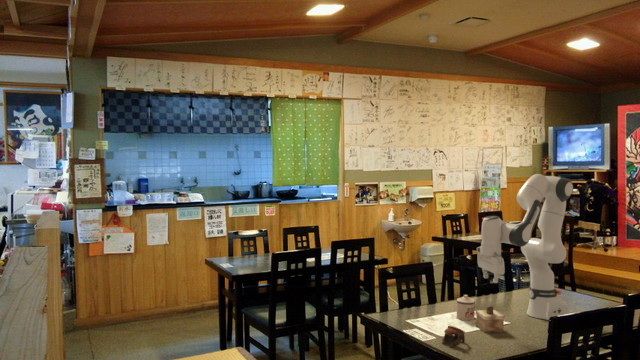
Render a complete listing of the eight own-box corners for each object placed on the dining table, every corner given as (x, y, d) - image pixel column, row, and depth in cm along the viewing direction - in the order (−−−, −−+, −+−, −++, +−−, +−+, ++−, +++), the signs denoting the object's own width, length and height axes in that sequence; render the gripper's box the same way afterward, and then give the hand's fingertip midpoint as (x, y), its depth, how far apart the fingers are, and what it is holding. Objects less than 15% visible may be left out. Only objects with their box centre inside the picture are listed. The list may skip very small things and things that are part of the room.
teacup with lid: (467, 322, 245) (467, 298, 244) (452, 317, 252) (452, 294, 252) (482, 318, 252) (482, 295, 251) (467, 313, 259) (467, 291, 259)
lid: (494, 313, 240) (494, 303, 239) (504, 319, 230) (504, 309, 230) (475, 313, 238) (475, 303, 238) (484, 319, 229) (484, 309, 229)
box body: (494, 325, 240) (494, 313, 239) (503, 332, 230) (504, 319, 230) (475, 326, 238) (476, 313, 238) (484, 332, 229) (485, 319, 229)
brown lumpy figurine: (436, 342, 218) (442, 323, 220) (454, 350, 219) (460, 332, 222) (450, 344, 207) (456, 325, 209) (469, 353, 208) (475, 334, 210)
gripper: (508, 254, 224) (508, 285, 224) (487, 247, 244) (487, 275, 244) (495, 255, 223) (494, 285, 223) (475, 247, 243) (474, 275, 244)
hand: (490, 280), depth 234 cm, fingers open, 8 cm apart
